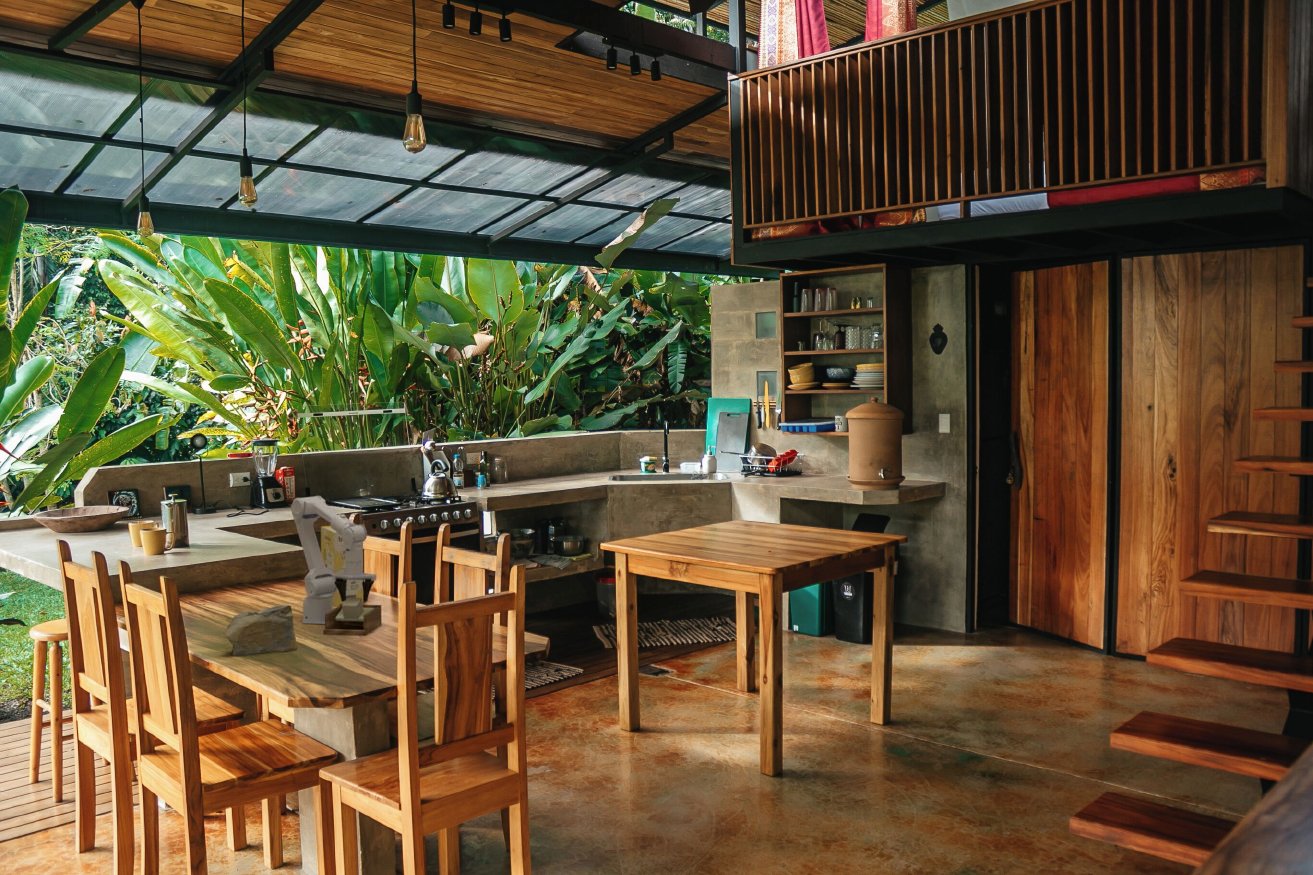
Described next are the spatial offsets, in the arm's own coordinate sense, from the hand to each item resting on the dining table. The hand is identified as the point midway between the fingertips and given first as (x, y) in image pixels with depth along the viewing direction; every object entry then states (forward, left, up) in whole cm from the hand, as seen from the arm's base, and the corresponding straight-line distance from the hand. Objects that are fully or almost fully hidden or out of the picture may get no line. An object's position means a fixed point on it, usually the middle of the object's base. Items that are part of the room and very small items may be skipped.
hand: (354, 601), depth 328 cm
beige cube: (0, -1, -2) cm, 3 cm away
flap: (0, +1, -5) cm, 5 cm away
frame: (0, -2, -9) cm, 10 cm away
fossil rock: (-18, -29, -10) cm, 36 cm away
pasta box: (-21, +40, -10) cm, 46 cm away
